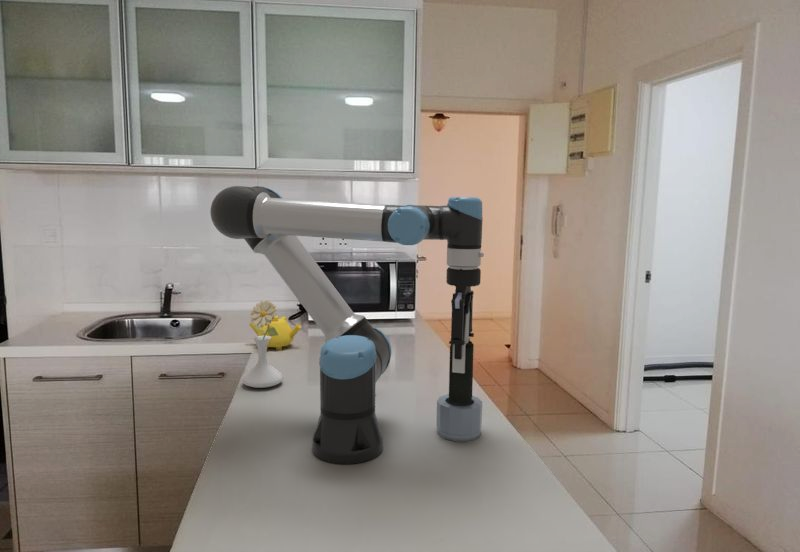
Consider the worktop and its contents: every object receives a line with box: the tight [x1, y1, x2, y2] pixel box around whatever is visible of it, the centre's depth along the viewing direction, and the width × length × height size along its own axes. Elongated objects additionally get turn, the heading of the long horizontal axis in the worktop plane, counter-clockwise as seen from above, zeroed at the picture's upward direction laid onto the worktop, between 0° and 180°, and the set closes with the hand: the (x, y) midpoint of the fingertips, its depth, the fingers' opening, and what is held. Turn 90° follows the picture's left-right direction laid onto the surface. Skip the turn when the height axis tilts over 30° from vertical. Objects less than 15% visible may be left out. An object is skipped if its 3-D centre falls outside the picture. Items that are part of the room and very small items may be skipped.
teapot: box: [248, 315, 302, 351], centre depth 201 cm, size 20×18×11 cm
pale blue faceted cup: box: [436, 393, 483, 443], centre depth 129 cm, size 10×10×8 cm
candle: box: [448, 313, 475, 404], centre depth 127 cm, size 5×5×25 cm
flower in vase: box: [242, 299, 284, 389], centre depth 159 cm, size 13×11×25 cm
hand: (461, 368), depth 128 cm, fingers closed on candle, 5 cm apart
